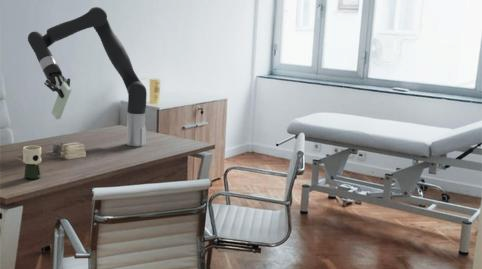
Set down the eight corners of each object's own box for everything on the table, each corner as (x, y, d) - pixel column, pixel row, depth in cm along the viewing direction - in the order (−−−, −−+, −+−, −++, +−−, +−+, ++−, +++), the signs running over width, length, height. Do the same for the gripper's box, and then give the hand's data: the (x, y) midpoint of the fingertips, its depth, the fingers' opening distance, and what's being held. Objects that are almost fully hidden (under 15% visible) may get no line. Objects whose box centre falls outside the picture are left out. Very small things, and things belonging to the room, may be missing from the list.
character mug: (31, 182, 236) (31, 151, 234) (16, 180, 238) (16, 149, 236) (48, 175, 246) (47, 145, 244) (33, 173, 249) (33, 143, 246)
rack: (44, 153, 280) (44, 140, 279) (66, 150, 289) (66, 137, 288) (66, 161, 269) (66, 147, 268) (88, 158, 278) (88, 144, 277)
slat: (51, 112, 282) (62, 83, 273) (55, 112, 284) (66, 82, 275) (56, 119, 280) (67, 89, 271) (60, 118, 282) (71, 89, 273)
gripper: (40, 63, 272) (55, 93, 267) (66, 62, 283) (81, 91, 278) (34, 73, 277) (49, 103, 272) (59, 72, 287) (74, 100, 282)
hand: (65, 96), depth 275 cm, fingers closed on slat, 2 cm apart
